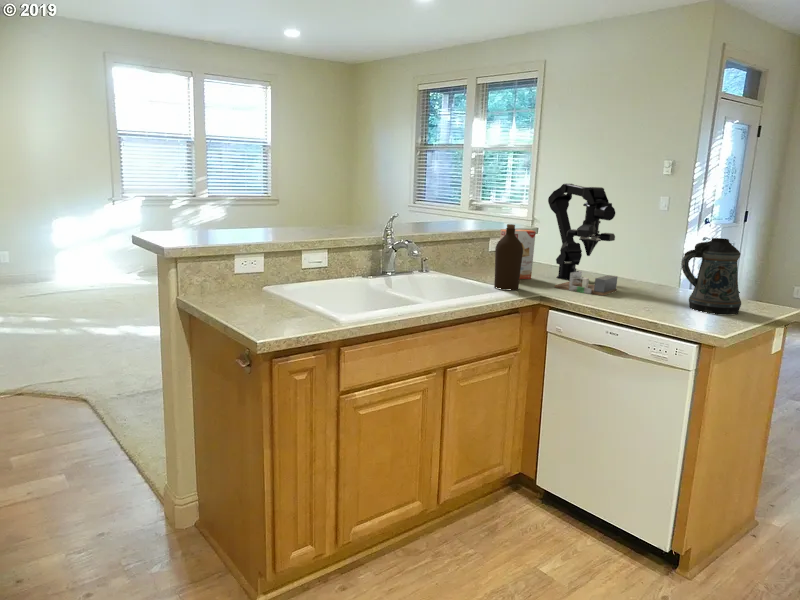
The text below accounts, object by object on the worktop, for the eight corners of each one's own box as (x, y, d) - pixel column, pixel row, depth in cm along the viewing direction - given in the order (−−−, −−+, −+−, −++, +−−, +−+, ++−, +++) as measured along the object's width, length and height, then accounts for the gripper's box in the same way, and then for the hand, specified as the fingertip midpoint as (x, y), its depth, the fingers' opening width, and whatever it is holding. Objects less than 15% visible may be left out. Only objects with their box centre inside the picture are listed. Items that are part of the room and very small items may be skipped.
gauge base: (553, 288, 243) (554, 282, 243) (569, 283, 254) (570, 278, 254) (601, 296, 230) (602, 290, 230) (616, 291, 241) (617, 286, 241)
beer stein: (750, 315, 207) (763, 242, 202) (701, 315, 203) (712, 241, 198) (717, 304, 223) (727, 236, 218) (670, 304, 219) (679, 235, 214)
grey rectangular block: (593, 291, 234) (595, 278, 233) (606, 287, 243) (607, 275, 242) (603, 292, 231) (605, 279, 230) (616, 288, 240) (617, 276, 239)
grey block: (566, 285, 241) (568, 273, 240) (577, 282, 248) (579, 270, 247) (579, 287, 238) (580, 274, 237) (589, 284, 245) (591, 272, 244)
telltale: (581, 288, 237) (582, 278, 236) (583, 287, 238) (584, 277, 237) (585, 288, 236) (586, 278, 235) (587, 288, 237) (588, 278, 236)
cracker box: (502, 279, 257) (506, 230, 253) (496, 277, 263) (499, 229, 258) (532, 279, 261) (536, 230, 257) (525, 276, 267) (529, 229, 262)
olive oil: (507, 292, 231) (512, 226, 226) (487, 287, 239) (491, 223, 234) (525, 289, 238) (530, 225, 233) (504, 284, 246) (509, 223, 241)
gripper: (562, 216, 249) (558, 254, 252) (605, 221, 236) (601, 260, 240) (574, 216, 257) (571, 252, 260) (617, 219, 244) (613, 258, 248)
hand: (588, 255), depth 252 cm, fingers closed
